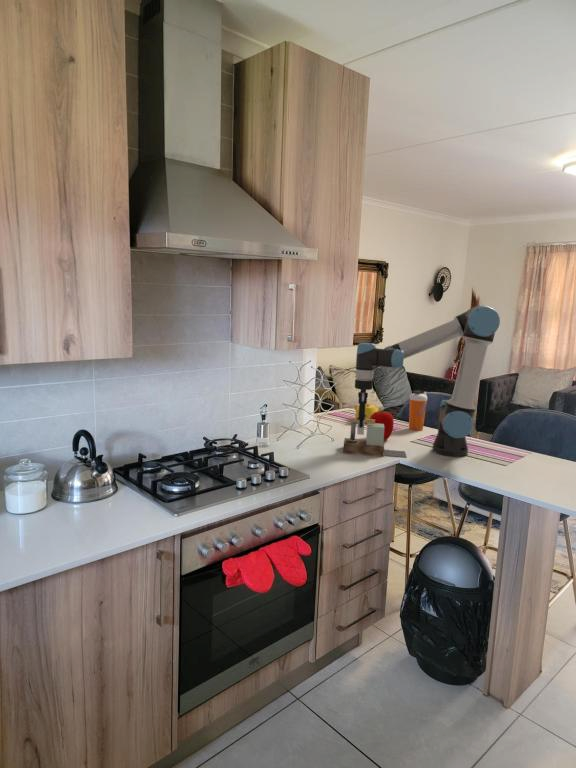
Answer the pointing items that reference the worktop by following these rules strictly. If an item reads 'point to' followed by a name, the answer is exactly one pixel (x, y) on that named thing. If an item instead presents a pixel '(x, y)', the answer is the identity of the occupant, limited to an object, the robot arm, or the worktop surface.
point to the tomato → (384, 422)
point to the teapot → (367, 410)
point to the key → (353, 427)
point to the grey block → (375, 434)
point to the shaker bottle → (417, 410)
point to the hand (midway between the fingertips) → (360, 432)
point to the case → (362, 448)
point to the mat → (395, 453)
